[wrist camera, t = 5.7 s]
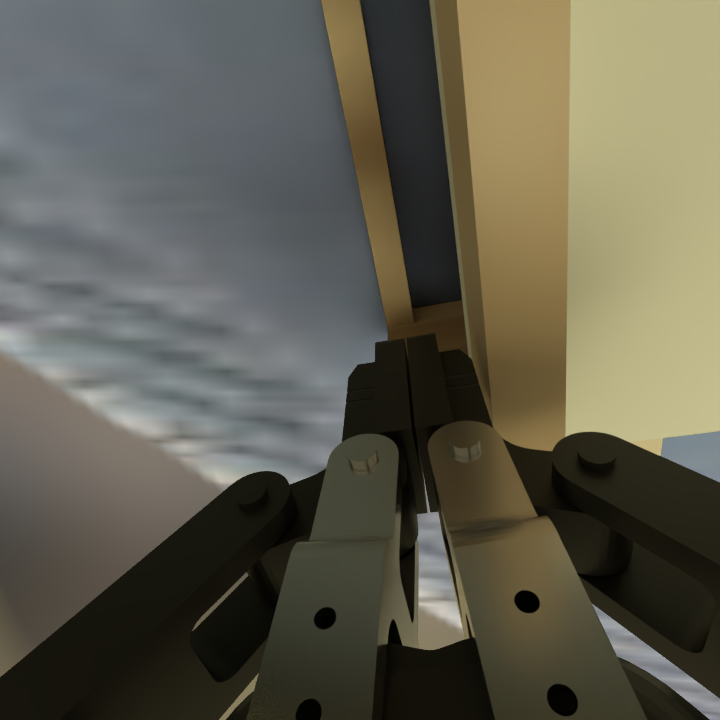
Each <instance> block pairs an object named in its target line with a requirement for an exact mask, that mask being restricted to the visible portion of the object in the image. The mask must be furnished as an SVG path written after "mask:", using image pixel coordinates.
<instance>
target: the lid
mask: <svg viewBox="0 0 720 720" xmlns="http://www.w3.org/2000/svg"><path fill="white" fill-rule="evenodd" d="M429 1H430V10H431V20H432V29H433V38H434V47H435V56H436V65H437V74H438V83H439V92H440V102H441V111H442V120H443V129H444V138H445V147H446V156H447V165H448V175H449V184H450V193H451V202H452V211H453V220H454V229H455V238H456V247H457V257H458V266H459V275H460V284H461V293H462V302H463V311H464V320H465V329H466V339H467V348H468V356H469V357H470V358H471V359H472V362H473V365H474V368H475V371H476V374H477V378H478V381H479V385H480V387H481V390H482V394H483V397H484V400H485V403H486V406H487V409H488V413H489V416H490V419H491V422H492V425H493V427H494V429H495V430H496V431H497V432H498V433H499V434H500V435H501V437H502V438H503V439H505V440H506V441H508V442H510V443H512V444H514V445H517V446H520V447H523V448H528V449H535V450H545V451H553V448H554V447H555V445H556V444H557V443H558V442H559V441H560V440H561V439H563V438H564V437H566V436H569V435H571V434H575V433H580V432H600V433H606V434H610V435H613V436H616V437H618V438H621V439H623V440H625V441H628V442H636V441H643V440H651V439H659V438H667V437H675V436H683V435H691V434H699V433H707V432H715V431H720V0H429Z"/></svg>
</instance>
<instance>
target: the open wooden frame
mask: <svg viewBox="0 0 720 720" xmlns="http://www.w3.org/2000/svg"><path fill="white" fill-rule="evenodd" d="M321 2H322V7H323V12H324V17H325V22H326V27H327V32H328V37H329V41H330V46H331V51H332V56H333V61H334V66H335V71H336V76H337V81H338V86H339V91H340V96H341V101H342V106H343V110H344V115H345V120H346V125H347V130H348V135H349V140H350V145H351V150H352V155H353V160H354V165H355V170H356V174H357V179H358V184H359V189H360V194H361V199H362V204H363V209H364V214H365V219H366V224H367V229H368V234H369V239H370V243H371V248H372V253H373V258H374V263H375V268H376V273H377V278H378V283H379V288H380V293H381V298H382V303H383V308H384V312H385V317H386V322H387V327H388V340H394V339H401V338H404V340H405V345H406V350H407V340H406V337H413V336H419V335H425V334H431V333H435V335H436V340H437V345H438V350H439V352H443V351H450V350H456V349H460V350H461V351H462V352H464V353H465V354H466V355H467V356H468V348H467V339H466V329H465V320H464V311H463V302H462V300H459V301H453V302H448V303H442V304H436V305H430V306H425V307H419V308H413V309H412V303H411V297H410V291H409V285H408V279H407V273H406V267H405V262H404V256H403V250H402V244H401V238H400V232H399V226H398V220H397V214H396V208H395V202H394V196H393V191H392V185H391V179H390V173H389V167H388V161H387V155H386V149H385V143H384V137H383V131H382V126H381V120H380V114H379V108H378V102H377V96H376V90H375V84H374V78H373V72H372V66H371V61H370V55H369V49H368V43H367V37H366V31H365V25H364V19H363V13H362V7H361V1H360V0H321ZM407 356H408V351H407ZM408 362H409V361H408Z"/></svg>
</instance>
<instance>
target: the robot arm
mask: <svg viewBox="0 0 720 720" xmlns="http://www.w3.org/2000/svg"><path fill="white" fill-rule="evenodd" d="M406 340H407V350H406V345H405V340H404V338H401V339H394V340H388V341H382V342H376V343H375V362H372V363H366V364H359V365H357V367H356V368H355V369H354V371H353V372H352V373H351V375H350V376H349V378H348V388H347V392H348V393H347V398H346V408H345V418H344V427H343V437H342V443H340V444H339V445H338V446H337V447H336V448H335V449H334V450H333V451H332V453H331V454H330V456H329V459H328V463H327V467H326V469H324V470H323V471H321V472H319V473H318V474H316V475H313V476H311V477H309V478H306V479H303V480H301V481H298V482H296V483H293V484H290V485H289V483H288V481H287V479H286V478H285V477H284V476H282V475H281V474H279V473H276V472H271V471H262V472H256V473H252V474H249V475H247V476H245V477H243V478H241V479H239V480H237V481H236V482H235V483H233V484H232V485H231V486H229V487H228V488H227V489H226V490H225V491H223V492H222V493H221V494H220V495H219V496H217V498H215V499H214V500H213V501H211V502H210V503H209V504H208V505H207V506H205V507H204V508H203V509H202V510H201V511H199V512H198V513H197V514H196V515H195V516H193V517H192V518H191V519H190V520H189V521H187V522H186V523H185V524H184V525H183V526H182V527H180V528H179V529H178V530H177V531H176V532H174V533H173V534H172V535H171V536H169V537H168V538H167V539H166V540H165V541H163V542H162V543H161V544H160V545H159V546H157V547H156V548H155V549H154V550H153V551H152V552H150V553H149V554H148V555H147V556H145V557H144V558H143V559H142V560H141V561H139V562H138V563H137V564H136V565H135V566H133V567H132V568H131V569H130V570H129V571H127V572H126V573H125V574H124V575H123V576H121V577H120V578H119V579H118V580H117V581H115V582H114V583H113V584H112V585H111V586H109V587H108V588H107V589H106V590H105V591H103V592H102V593H101V594H100V595H99V596H97V597H96V598H95V599H94V600H93V601H91V602H90V603H89V604H88V605H87V606H85V607H84V608H83V609H82V610H81V611H79V612H78V613H77V614H76V615H75V616H74V617H72V618H71V619H70V620H69V621H67V622H66V623H65V624H64V625H63V626H61V627H60V628H59V629H58V630H57V631H55V632H54V633H53V634H52V635H51V636H49V637H48V638H47V639H46V640H45V641H43V642H42V643H41V644H40V645H39V646H37V647H36V648H35V649H34V650H33V651H31V652H30V653H29V654H28V655H27V656H25V657H24V658H23V659H22V660H21V661H20V662H18V663H17V664H16V665H15V666H13V667H12V668H11V669H10V670H8V671H7V672H6V673H5V674H4V675H3V676H1V677H0V720H219V719H220V717H221V716H222V715H223V714H224V713H225V712H226V710H227V709H228V708H229V707H230V706H231V705H232V703H233V702H234V701H235V700H236V699H237V698H238V696H239V695H240V694H241V693H242V692H243V691H244V689H245V688H246V687H247V686H248V685H249V683H250V682H251V681H252V680H253V679H254V678H255V676H256V675H257V674H258V673H259V674H258V678H257V681H256V685H255V689H254V691H253V692H252V693H251V694H250V695H248V696H247V697H246V698H245V700H243V702H241V703H240V704H239V705H238V706H237V707H236V708H235V710H234V711H233V712H232V713H231V714H230V716H229V717H228V718H227V719H226V720H709V719H708V718H707V717H706V716H705V715H703V714H702V713H701V712H700V711H699V710H697V709H696V708H695V707H694V706H692V705H691V704H690V703H689V702H688V701H686V700H685V699H684V698H683V697H682V696H680V695H679V694H678V693H676V692H675V691H674V690H673V689H671V688H670V687H669V686H667V685H666V684H665V683H663V682H662V681H660V680H659V679H657V678H656V677H654V676H653V675H651V674H650V673H648V672H647V671H645V670H643V669H641V668H639V667H638V666H636V665H634V664H632V663H630V662H628V661H626V660H624V659H622V658H619V657H617V655H616V653H615V651H614V649H613V647H612V645H611V643H610V641H609V639H608V637H607V634H606V632H605V630H604V628H603V626H602V624H601V622H600V620H599V618H598V616H597V614H596V612H595V609H594V607H593V605H592V604H594V605H595V606H596V607H598V608H599V609H600V610H602V611H603V612H604V613H606V614H607V615H608V616H610V617H611V618H612V619H614V620H615V621H616V622H618V623H619V624H621V625H622V626H623V627H625V628H626V629H627V630H629V631H630V632H631V633H633V634H634V635H635V636H637V637H638V638H639V639H641V640H642V641H643V642H645V643H646V644H647V645H649V646H650V647H651V648H653V649H654V650H655V651H657V652H658V653H659V654H661V655H662V656H664V657H665V658H666V659H668V660H669V661H670V662H672V663H673V664H674V665H676V666H677V667H678V668H680V669H681V670H682V671H684V672H685V673H686V674H688V675H689V676H690V677H692V678H693V679H694V680H696V681H697V682H698V683H700V684H701V685H703V686H704V687H705V688H707V689H708V690H709V691H711V692H712V693H713V694H715V695H716V696H717V697H719V698H720V483H719V482H717V481H715V480H713V479H710V478H708V477H706V476H704V475H701V474H699V473H697V472H695V471H692V470H690V469H688V468H686V467H684V466H681V465H679V464H677V463H675V462H672V461H670V460H668V459H666V458H663V457H661V456H659V455H657V454H654V453H652V452H650V451H648V450H645V449H643V448H641V447H639V446H637V445H634V444H632V443H630V442H628V441H625V440H623V439H621V438H618V437H616V436H613V435H610V434H606V433H600V432H580V433H575V434H571V435H569V436H566V437H564V438H563V439H561V440H560V441H559V442H558V443H557V444H556V445H555V447H554V448H553V451H545V450H535V449H528V448H523V447H520V446H517V445H514V444H512V443H510V442H508V441H506V440H505V439H503V438H502V437H501V435H500V434H499V433H498V432H497V431H496V430H495V429H494V427H493V425H492V422H491V419H490V416H489V413H488V409H487V406H486V403H485V400H484V397H483V394H482V390H481V387H480V385H479V381H478V378H477V374H476V371H475V368H474V365H473V362H472V359H471V358H470V357H469V356H467V355H466V354H465V353H464V352H462V351H461V350H460V349H456V350H450V351H443V352H439V350H438V345H437V340H436V335H435V333H431V334H425V335H419V336H413V337H406ZM407 351H408V356H407ZM408 361H409V362H408ZM423 474H424V476H423ZM424 480H425V485H426V491H427V496H428V501H429V507H430V512H439V518H440V524H441V529H442V535H443V541H444V547H445V551H446V556H447V560H448V565H449V569H450V573H451V578H452V582H453V587H454V591H455V596H456V600H457V605H458V609H459V613H460V618H461V622H462V627H463V631H464V636H465V640H462V641H459V642H457V643H454V644H451V645H449V646H445V647H443V648H440V649H436V650H423V649H419V640H418V574H419V547H418V541H417V536H418V522H417V514H421V513H427V504H426V495H425V485H424ZM246 572H247V573H248V575H249V576H248V577H247V578H246V579H245V580H244V581H243V582H242V583H241V584H240V585H239V586H238V587H237V588H236V589H235V590H234V591H233V592H232V593H231V594H230V595H229V596H228V597H227V598H226V599H225V600H224V601H223V602H222V603H221V604H220V605H219V606H218V607H217V608H216V609H215V610H214V611H213V612H212V613H211V614H210V615H209V616H208V617H207V618H206V619H205V620H204V621H203V622H202V623H201V624H200V625H199V626H198V627H197V628H196V629H195V630H194V631H192V630H193V628H194V626H195V624H196V622H197V621H198V620H199V619H200V617H201V616H202V615H203V614H204V613H205V612H206V611H207V610H208V609H209V608H210V607H211V606H212V605H214V604H215V602H217V600H219V599H220V598H221V596H223V595H224V594H225V593H226V592H227V591H228V590H229V589H230V588H231V587H232V586H233V585H234V584H235V583H236V582H237V581H238V580H239V579H240V578H241V577H242V576H243V575H244V574H245V573H246Z"/></svg>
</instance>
